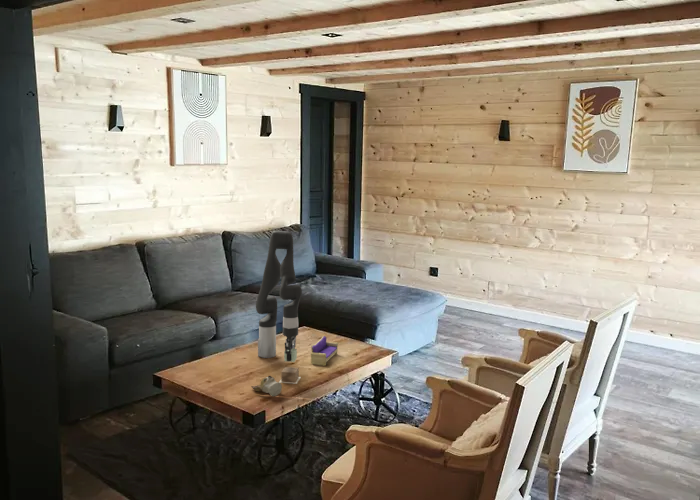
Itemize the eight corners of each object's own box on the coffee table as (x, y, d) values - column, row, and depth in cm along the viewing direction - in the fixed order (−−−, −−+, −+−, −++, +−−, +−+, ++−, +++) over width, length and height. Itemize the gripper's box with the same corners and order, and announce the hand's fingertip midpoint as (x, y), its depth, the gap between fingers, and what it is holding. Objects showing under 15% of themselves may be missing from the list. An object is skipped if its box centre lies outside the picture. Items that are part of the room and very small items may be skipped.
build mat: (275, 384, 295) (275, 383, 295) (281, 375, 306) (281, 374, 306) (299, 386, 293) (299, 385, 293) (304, 377, 305) (304, 376, 305)
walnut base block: (281, 381, 297) (281, 371, 296) (284, 376, 303) (284, 366, 303) (295, 382, 296) (295, 372, 295) (298, 377, 303) (298, 367, 302)
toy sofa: (325, 366, 321) (325, 348, 320) (310, 364, 324) (310, 346, 322) (338, 354, 341) (338, 336, 339) (323, 352, 344) (323, 335, 342)
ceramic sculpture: (269, 381, 275) (249, 374, 285) (270, 400, 276) (250, 392, 286) (287, 376, 282) (267, 369, 293) (288, 394, 283) (268, 387, 294)
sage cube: (284, 361, 296) (284, 351, 295) (286, 357, 301) (286, 348, 300) (294, 361, 295) (294, 352, 294) (296, 358, 300) (296, 348, 299)
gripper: (286, 321, 303) (286, 353, 305) (279, 329, 289) (279, 363, 291) (301, 321, 302) (301, 354, 304) (294, 330, 288) (294, 364, 290)
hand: (290, 358), depth 298 cm, fingers closed on sage cube, 5 cm apart
